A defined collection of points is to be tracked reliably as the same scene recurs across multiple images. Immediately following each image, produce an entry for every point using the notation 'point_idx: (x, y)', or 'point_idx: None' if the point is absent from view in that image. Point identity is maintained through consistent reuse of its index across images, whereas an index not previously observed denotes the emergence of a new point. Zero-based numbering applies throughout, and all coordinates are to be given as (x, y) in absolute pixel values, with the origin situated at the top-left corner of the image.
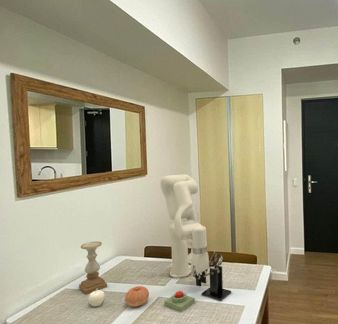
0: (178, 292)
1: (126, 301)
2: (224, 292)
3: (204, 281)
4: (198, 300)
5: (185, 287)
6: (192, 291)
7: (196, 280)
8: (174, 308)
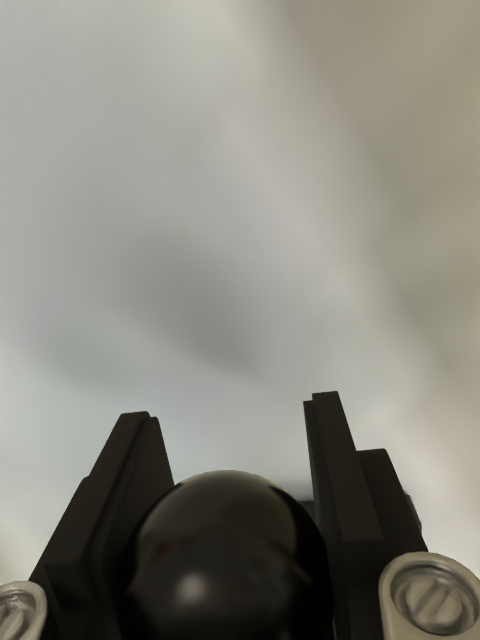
0: None
1: None
2: None
3: (318, 525)
4: (7, 562)
5: (77, 32)
6: (88, 314)
7: (43, 572)
8: None
